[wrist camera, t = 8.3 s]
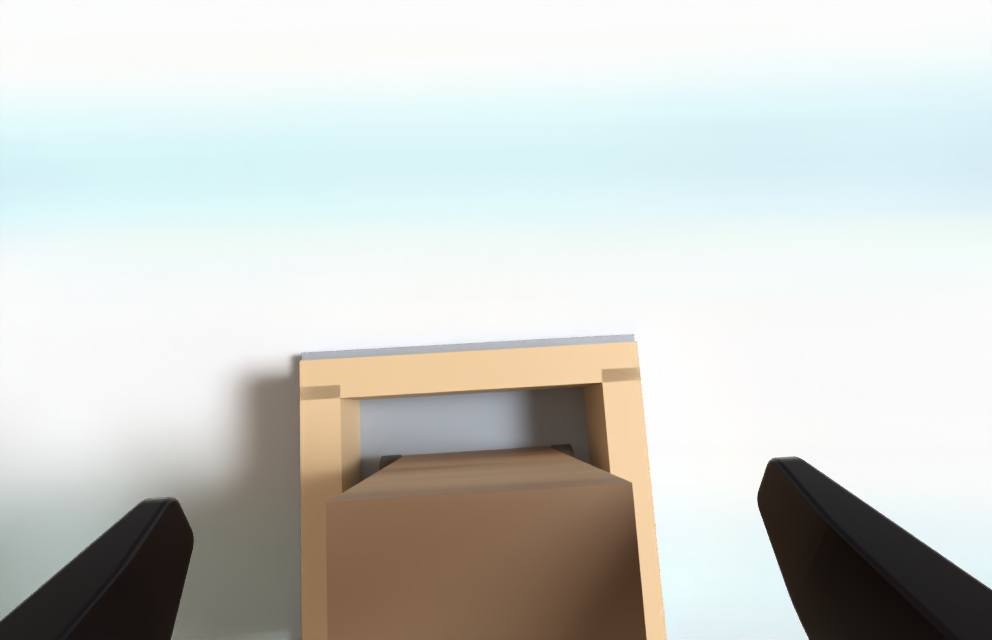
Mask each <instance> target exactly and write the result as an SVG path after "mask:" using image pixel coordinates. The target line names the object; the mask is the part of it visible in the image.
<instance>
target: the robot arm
mask: <svg viewBox="0 0 992 640" xmlns="http://www.w3.org/2000/svg"><path fill="white" fill-rule="evenodd" d="M757 500H758V507H759V510H760V513H761V516H762V519H763V522H764V525H765V528H766V530H767V533H768V536H769V539H770V542H771V545H772V548H773V550H774V553H775V556H776V559H777V562H778V565H779V567H780V570H781V573H782V576H783V579H784V582H785V585H786V587H787V590H788V593H789V595H790V598H791V601H792V603H793V606H794V608H795V610H796V612H797V615H798V617H799V619H800V621H801V623H802V626H803V628H804V630H805V632H806V634H807V636H808V638H809V640H992V590H991V589H990V588H988V587H987V586H986V585H984V584H983V583H981V582H980V581H978V580H977V579H975V578H974V577H973V576H971V575H970V574H968V573H967V572H965V571H964V570H962V569H961V568H959V567H958V566H957V565H955V564H954V563H952V562H951V561H949V560H948V559H946V558H945V557H943V556H942V555H941V554H939V553H938V552H936V551H935V550H933V549H932V548H930V547H929V546H928V545H926V544H925V543H923V542H922V541H920V540H919V539H917V538H916V537H914V536H913V535H912V534H910V533H909V532H907V531H906V530H904V529H903V528H901V527H900V526H899V525H897V524H896V523H894V522H893V521H891V520H890V519H888V518H887V517H885V516H884V515H883V514H881V513H880V512H878V511H877V510H875V509H874V508H872V507H871V506H870V505H868V504H867V503H865V502H864V501H862V500H861V499H859V498H858V497H856V496H855V495H854V494H852V493H851V492H849V491H848V490H846V489H845V488H843V487H842V486H840V485H839V484H838V483H836V482H835V481H833V480H832V479H830V478H829V477H827V476H826V475H825V474H823V473H822V472H820V471H819V470H817V469H816V468H814V467H813V466H811V465H810V464H809V463H807V462H806V461H804V460H802V459H801V458H798V457H779V458H772V459H771V460H770V461H769V462H768V464H767V467H766V470H765V473H764V476H763V479H762V482H761V485H760V488H759V491H758V497H757ZM193 542H194V539H193V532H192V529H191V527H190V525H189V523H188V521H187V519H186V516H185V514H184V512H183V510H182V508H181V506H180V503H179V502H178V500H176V499H175V498H173V497H162V498H149V499H145V500H143V501H142V502H140V503H139V504H138V505H136V506H135V507H134V508H133V509H132V510H131V511H129V512H128V513H127V514H126V515H125V516H123V517H122V518H121V519H120V520H119V521H118V522H116V523H115V524H114V525H113V526H112V527H110V528H109V529H108V530H107V531H106V532H105V533H103V534H102V535H101V536H100V537H99V538H98V539H96V540H95V541H94V542H93V543H92V544H90V545H89V546H88V547H87V548H86V549H85V550H83V551H82V552H81V553H80V554H79V555H78V556H76V557H75V558H74V559H73V560H72V561H70V562H69V563H68V564H67V565H66V566H65V567H63V568H62V569H61V570H60V571H59V572H57V573H56V574H55V575H54V576H53V577H52V578H50V579H49V580H48V581H47V582H46V583H45V584H43V585H42V586H41V587H40V588H39V589H37V590H36V591H35V592H34V593H33V594H32V595H30V596H29V597H28V598H27V599H26V600H25V601H23V602H22V603H21V604H20V605H19V606H17V607H16V608H15V609H14V610H13V611H12V612H10V613H9V614H8V615H7V616H6V617H4V618H3V619H2V620H1V621H0V640H171V636H172V632H173V628H174V624H175V620H176V616H177V612H178V608H179V603H180V599H181V595H182V591H183V587H184V583H185V579H186V574H187V570H188V566H189V562H190V558H191V554H192V550H193Z"/></svg>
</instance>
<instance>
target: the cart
mask: <svg viewBox="0 0 992 640" xmlns="http://www.w3.org/2000/svg"><path fill="white" fill-rule="evenodd" d="M326 550H327V636H328V640H647V637H646V626H645V615H644V605H643V594H642V583H641V572H640V562H639V551H638V540H637V529H636V519H635V508H634V497H633V486H632V482H629V481H627V480H625V479H622V478H620V477H618V476H615V475H613V474H611V473H608V472H606V471H604V470H601V469H599V468H597V467H594V466H592V465H590V464H588V463H585V462H583V461H581V460H578V459H576V458H575V456H574V452H573V449H572V446H571V445H570V444H562V445H551V447H548V446H543V447H527V448H511V449H495V450H479V451H463V452H447V453H431V454H415V455H404V456H403V457H402V455H386V456H382V457H381V459H380V464H379V471H378V472H376V473H375V474H373V475H371V476H370V477H368V478H366V479H365V480H363V481H361V482H360V483H358V484H356V485H355V486H353V487H352V488H350V489H348V490H347V491H345V492H343V493H342V494H340V495H338V496H337V497H335V498H333V499H332V500H330V501H328V502H327V503H326Z"/></svg>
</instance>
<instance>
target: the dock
mask: <svg viewBox="0 0 992 640" xmlns="http://www.w3.org/2000/svg"><path fill="white" fill-rule="evenodd" d="M562 444H570V445H571V446H572V449H573V452H574V456H575V458H576V459H578V460H581V461H583V462H585V463H588V464H590V465H592V466H594V467H597V468H599V469H601V470H604V471H606V472H608V473H611V474H613V475H615V476H618V477H620V478H622V479H625V480H627V481H629V482H632V486H633V497H634V508H635V519H636V529H637V540H638V551H639V562H640V572H641V583H642V594H643V605H644V615H645V626H646V637H647V640H667V638H666V628H665V618H664V608H663V598H662V588H661V578H660V568H659V558H658V548H657V538H656V528H655V518H654V508H653V498H652V488H651V478H650V468H649V458H648V448H647V438H646V428H645V418H644V408H643V398H642V388H641V378H640V368H639V358H638V349H637V342H635V341H634V334H630V335H612V336H594V337H576V338H558V339H541V340H523V341H505V342H487V343H469V344H451V345H433V346H415V347H398V348H380V349H362V350H344V351H326V352H308V353H302V361H300V493H301V629H302V640H328V636H327V550H326V503H327V502H328V501H330V500H332V499H333V498H335V497H337V496H338V495H340V494H342V493H343V492H345V491H347V490H348V489H350V488H352V487H353V486H355V485H356V484H358V483H360V482H361V481H363V480H365V479H366V478H368V477H370V476H371V475H373V474H375V473H376V472H378V471H379V464H380V459H381V457H382V456H386V455H402V457H403V456H404V455H415V454H431V453H447V452H463V451H479V450H495V449H511V448H527V447H543V446H548V447H551V445H562Z"/></svg>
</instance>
